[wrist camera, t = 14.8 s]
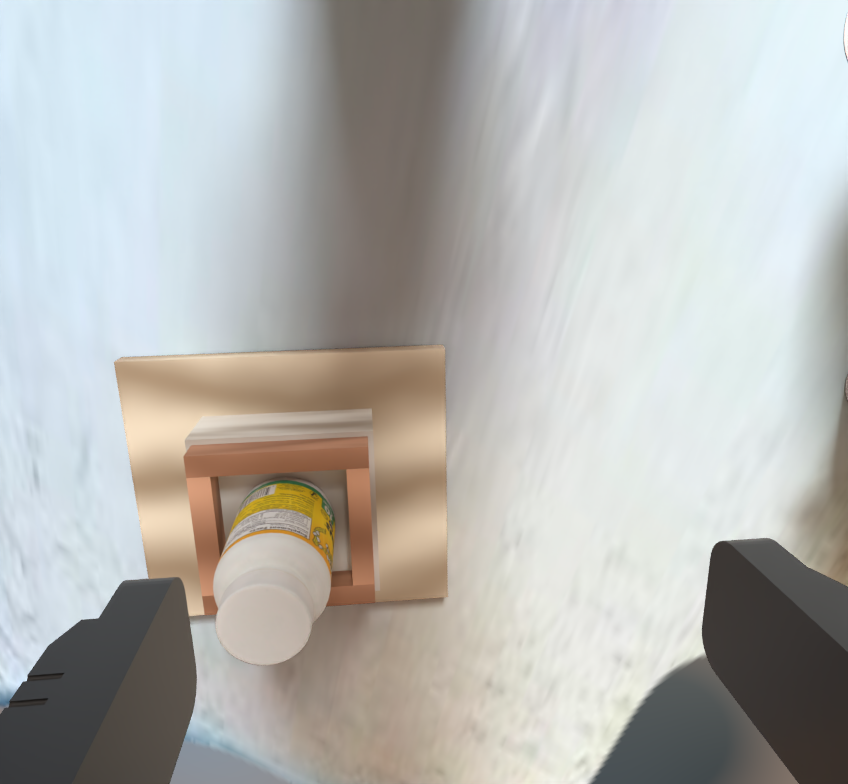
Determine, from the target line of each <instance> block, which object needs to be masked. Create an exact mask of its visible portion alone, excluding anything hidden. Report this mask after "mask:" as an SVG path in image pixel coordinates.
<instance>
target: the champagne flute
mask: <svg viewBox="0 0 848 784" xmlns="http://www.w3.org/2000/svg"><path fill="white" fill-rule="evenodd" d="M844 45H845V53H846V56H847V59H848V14H847V18H846V23H845V29H844Z"/></svg>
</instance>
